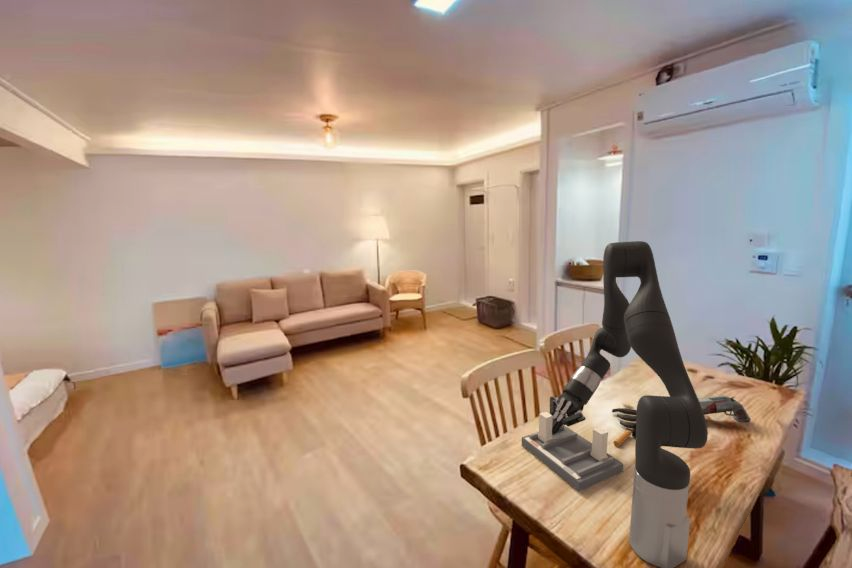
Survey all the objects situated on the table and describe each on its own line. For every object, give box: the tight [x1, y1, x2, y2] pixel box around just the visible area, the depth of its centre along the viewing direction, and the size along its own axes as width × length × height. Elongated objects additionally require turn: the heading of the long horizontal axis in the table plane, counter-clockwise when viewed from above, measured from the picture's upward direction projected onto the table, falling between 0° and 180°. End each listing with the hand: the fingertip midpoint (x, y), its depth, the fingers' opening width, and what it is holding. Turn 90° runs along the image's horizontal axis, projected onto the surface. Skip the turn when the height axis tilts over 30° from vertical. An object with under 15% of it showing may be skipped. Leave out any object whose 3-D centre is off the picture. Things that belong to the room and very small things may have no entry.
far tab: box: [538, 411, 553, 443], centre depth 112 cm, size 4×2×8 cm, turn 25°
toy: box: [611, 407, 637, 447], centre depth 121 cm, size 23×4×30 cm
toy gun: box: [697, 394, 752, 423], centre depth 126 cm, size 4×20×10 cm, turn 81°
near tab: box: [590, 426, 609, 461], centre depth 103 cm, size 4×2×8 cm, turn 25°
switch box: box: [521, 425, 624, 492], centre depth 108 cm, size 22×16×4 cm
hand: (550, 432), depth 113 cm, fingers closed
